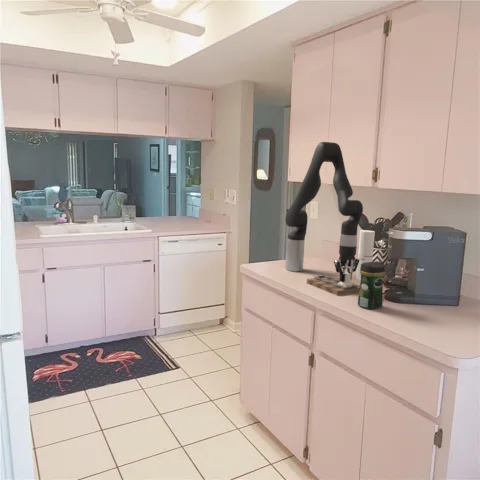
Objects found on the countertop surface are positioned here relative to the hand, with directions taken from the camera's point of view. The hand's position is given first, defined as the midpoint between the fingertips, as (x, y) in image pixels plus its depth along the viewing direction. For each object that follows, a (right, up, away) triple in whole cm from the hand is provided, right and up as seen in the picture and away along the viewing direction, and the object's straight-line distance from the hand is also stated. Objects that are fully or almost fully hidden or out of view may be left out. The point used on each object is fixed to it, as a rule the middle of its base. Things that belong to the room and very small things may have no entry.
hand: (345, 281), depth 187 cm
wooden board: (-4, -3, +7) cm, 8 cm away
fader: (0, -2, 0) cm, 2 cm away
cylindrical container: (+16, -1, +24) cm, 29 cm away
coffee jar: (+5, -8, -20) cm, 22 cm away
